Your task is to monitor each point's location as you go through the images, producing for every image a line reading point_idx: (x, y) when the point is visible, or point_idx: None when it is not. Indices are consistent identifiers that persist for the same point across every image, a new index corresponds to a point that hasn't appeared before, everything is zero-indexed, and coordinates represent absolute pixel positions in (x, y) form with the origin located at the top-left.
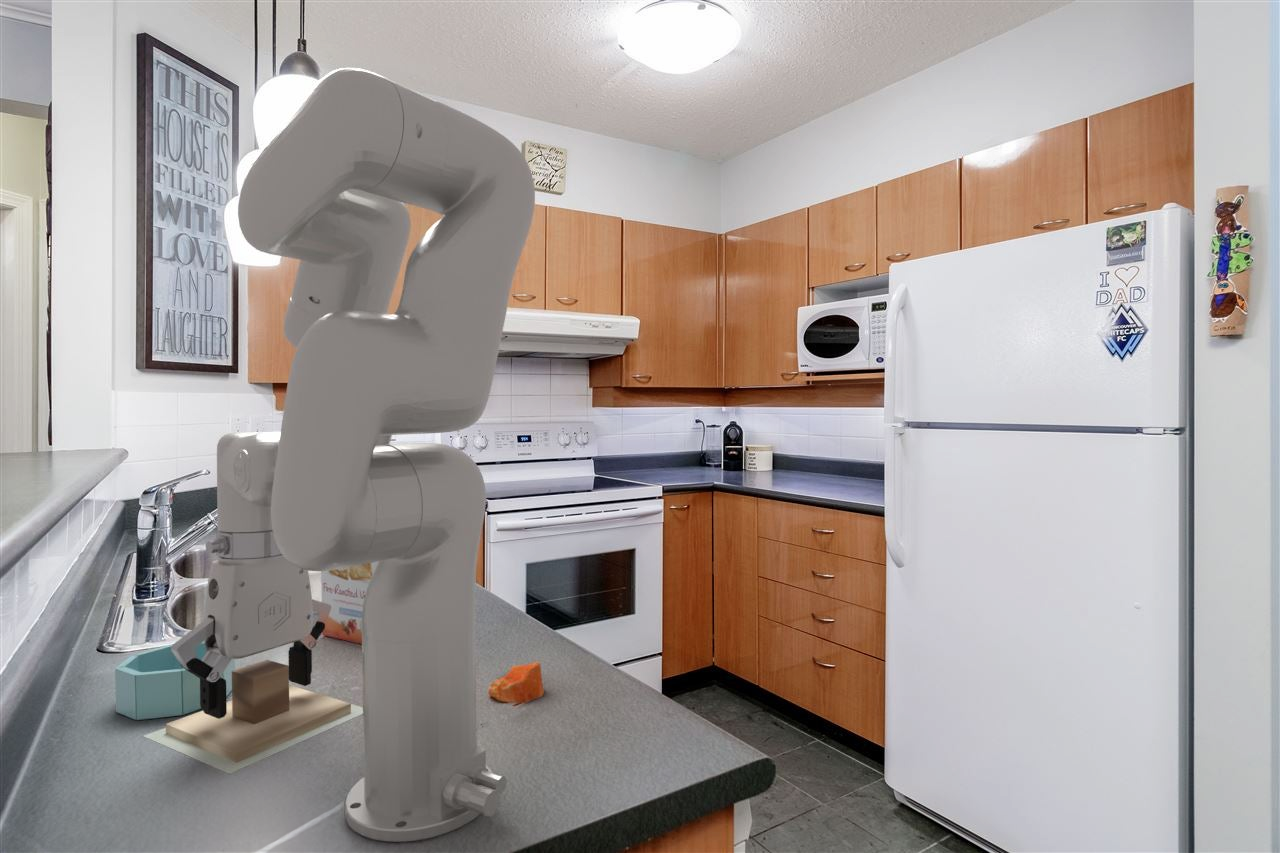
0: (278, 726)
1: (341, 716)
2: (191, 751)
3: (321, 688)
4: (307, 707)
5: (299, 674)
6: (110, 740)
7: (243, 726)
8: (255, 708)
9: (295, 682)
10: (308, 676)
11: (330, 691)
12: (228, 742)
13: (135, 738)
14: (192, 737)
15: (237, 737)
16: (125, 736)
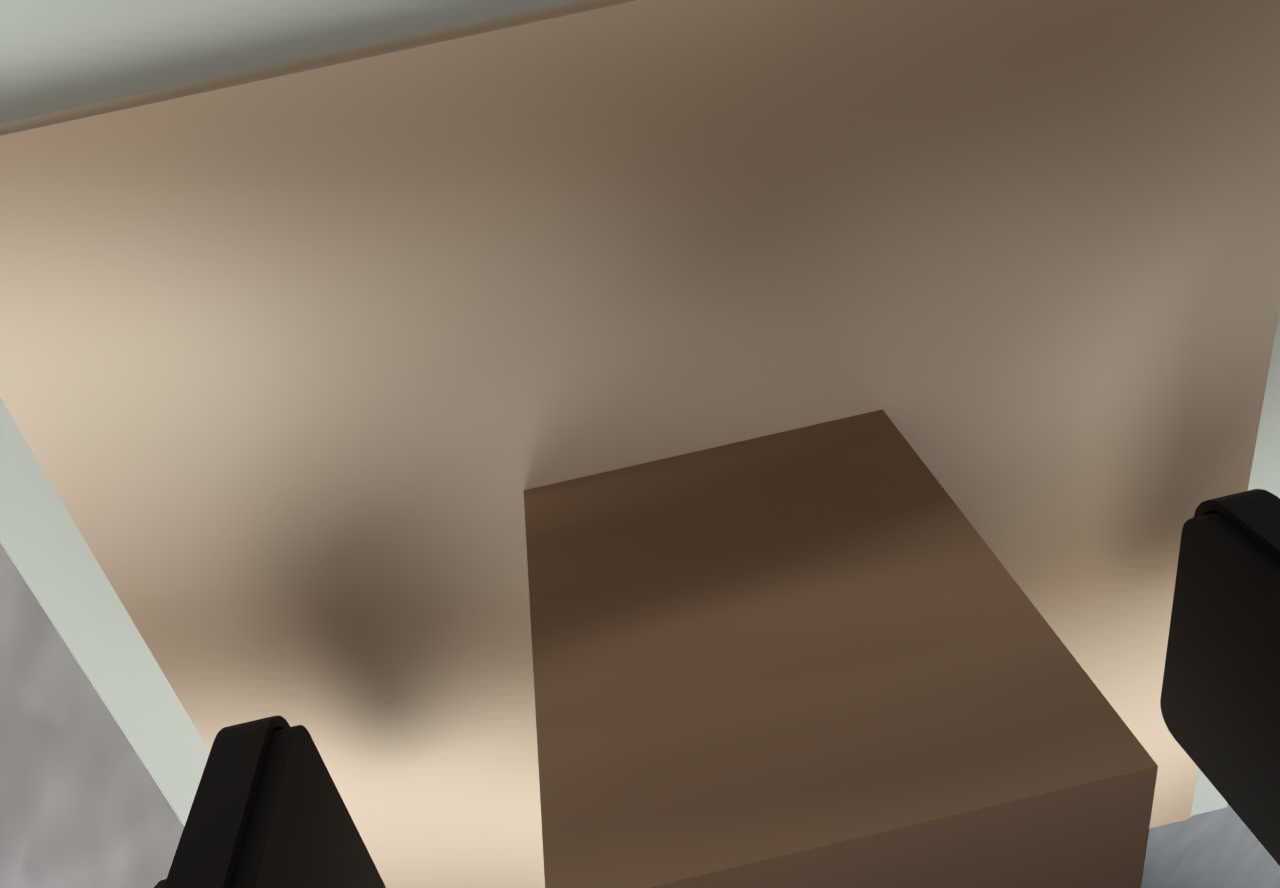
0: (771, 178)
1: (58, 104)
2: (1263, 405)
3: (81, 871)
4: (359, 430)
5: (311, 879)
6: (1275, 868)
7: (955, 435)
8: (924, 496)
9: (354, 833)
10: (226, 794)
11: (24, 787)
12: (1227, 183)
13: (1212, 825)
14: None
15: (1120, 236)
16: (1216, 871)
